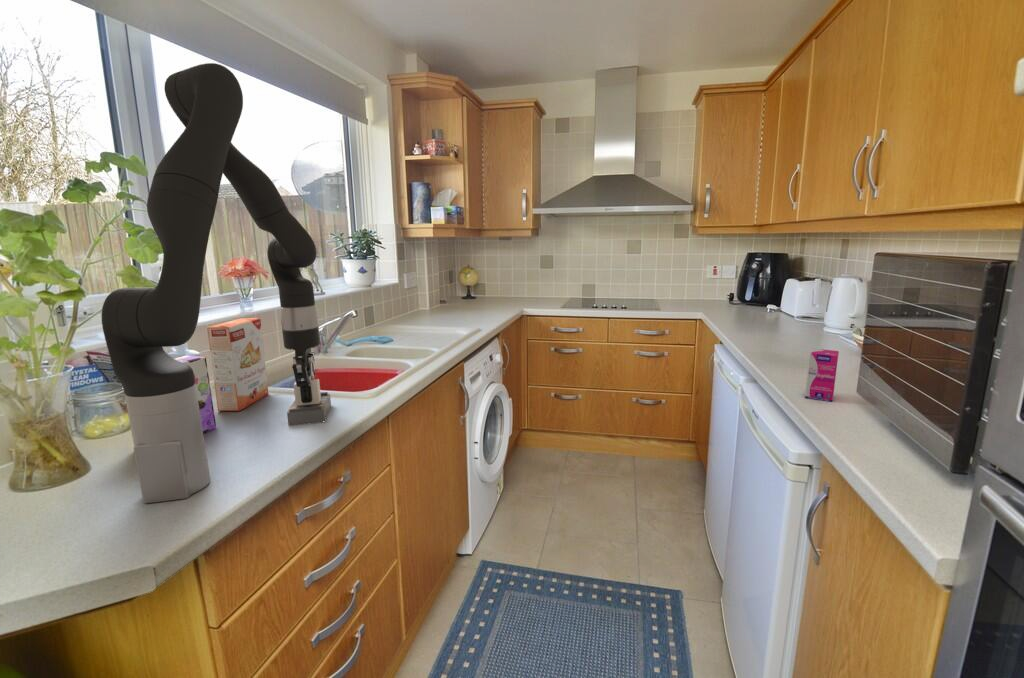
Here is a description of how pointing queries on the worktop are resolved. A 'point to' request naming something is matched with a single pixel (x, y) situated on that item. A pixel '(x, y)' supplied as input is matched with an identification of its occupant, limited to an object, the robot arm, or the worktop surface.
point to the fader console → (309, 411)
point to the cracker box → (238, 363)
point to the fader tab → (314, 389)
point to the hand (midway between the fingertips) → (308, 399)
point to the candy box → (202, 390)
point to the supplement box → (821, 374)
